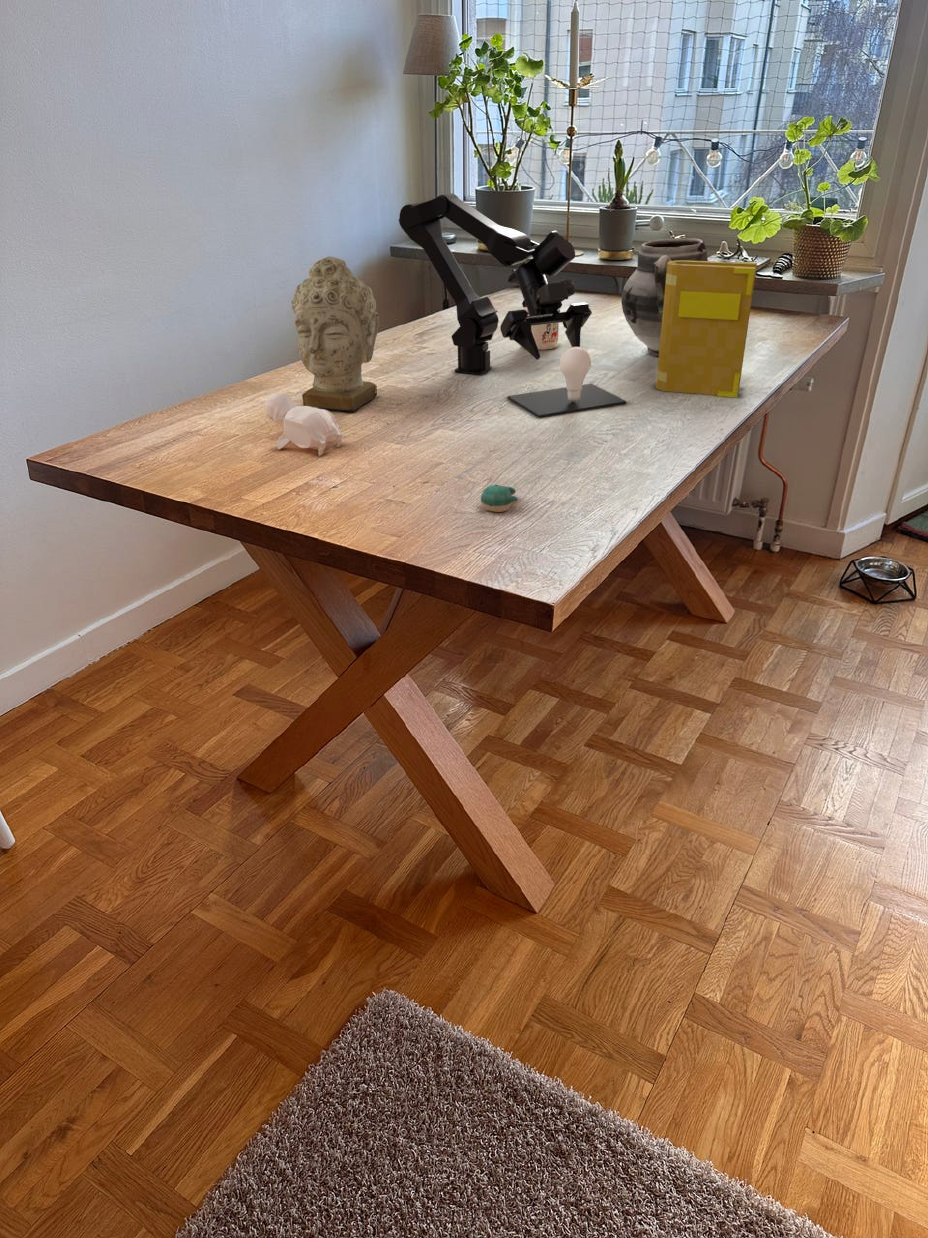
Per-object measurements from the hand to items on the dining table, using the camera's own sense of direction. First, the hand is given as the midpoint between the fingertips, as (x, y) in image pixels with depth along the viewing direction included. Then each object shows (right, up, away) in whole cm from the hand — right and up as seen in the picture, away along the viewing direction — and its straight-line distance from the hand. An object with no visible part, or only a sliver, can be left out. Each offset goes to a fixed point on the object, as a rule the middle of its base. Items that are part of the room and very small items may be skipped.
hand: (558, 355), depth 182 cm
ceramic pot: (+29, +10, +33) cm, 45 cm away
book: (+30, -5, +6) cm, 31 cm away
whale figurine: (-14, -36, -44) cm, 58 cm away
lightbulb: (+3, -10, -1) cm, 10 cm away
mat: (+2, -9, +1) cm, 9 cm away
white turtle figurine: (-49, -22, -19) cm, 57 cm away
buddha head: (-45, -9, +3) cm, 46 cm away
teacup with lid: (+1, +15, +41) cm, 44 cm away
